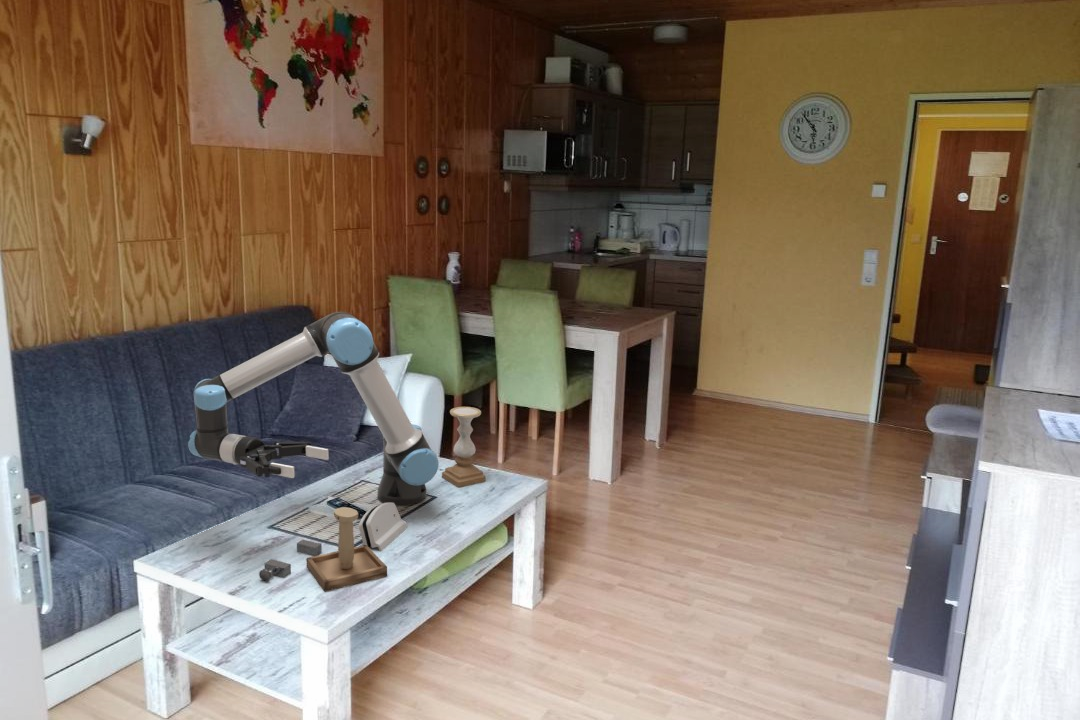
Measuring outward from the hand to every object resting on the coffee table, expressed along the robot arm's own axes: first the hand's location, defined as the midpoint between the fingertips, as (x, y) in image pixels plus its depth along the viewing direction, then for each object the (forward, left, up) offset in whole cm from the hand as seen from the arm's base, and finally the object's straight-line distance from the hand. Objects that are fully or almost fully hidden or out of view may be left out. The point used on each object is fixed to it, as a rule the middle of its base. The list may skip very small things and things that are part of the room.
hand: (311, 463), depth 198 cm
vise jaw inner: (-1, -7, -27) cm, 28 cm away
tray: (-6, +8, -27) cm, 29 cm away
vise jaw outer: (+11, +2, -27) cm, 29 cm away
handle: (-6, +8, -26) cm, 28 cm away
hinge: (-22, -6, -28) cm, 36 cm away
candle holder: (-62, -34, -28) cm, 76 cm away
